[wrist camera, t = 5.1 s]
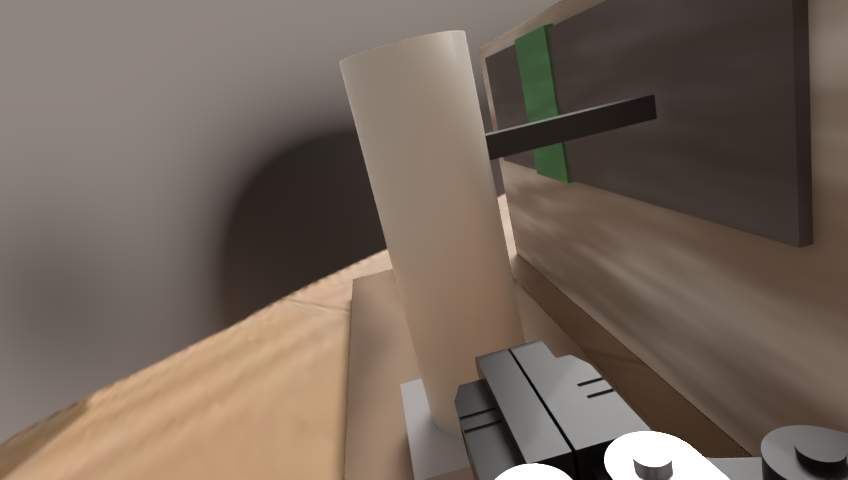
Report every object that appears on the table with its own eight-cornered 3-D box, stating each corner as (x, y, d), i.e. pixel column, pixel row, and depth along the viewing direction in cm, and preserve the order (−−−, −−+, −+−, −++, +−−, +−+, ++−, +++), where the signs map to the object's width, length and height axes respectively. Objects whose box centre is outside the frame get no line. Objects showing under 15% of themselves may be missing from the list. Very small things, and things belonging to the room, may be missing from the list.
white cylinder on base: (427, 526, 16) (294, 59, 12) (409, 419, 22) (315, 78, 18) (733, 436, 17) (698, -34, 13) (638, 354, 23) (594, 12, 19)
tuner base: (349, 791, 12) (11, -36, 7) (357, 294, 44) (299, 90, 40) (993, 580, 13) (1078, -261, 8) (537, 247, 45) (501, 43, 41)
